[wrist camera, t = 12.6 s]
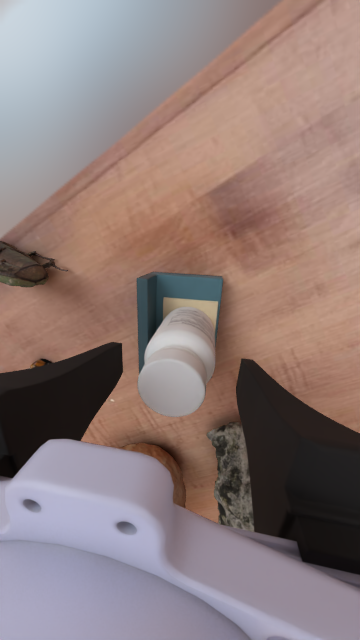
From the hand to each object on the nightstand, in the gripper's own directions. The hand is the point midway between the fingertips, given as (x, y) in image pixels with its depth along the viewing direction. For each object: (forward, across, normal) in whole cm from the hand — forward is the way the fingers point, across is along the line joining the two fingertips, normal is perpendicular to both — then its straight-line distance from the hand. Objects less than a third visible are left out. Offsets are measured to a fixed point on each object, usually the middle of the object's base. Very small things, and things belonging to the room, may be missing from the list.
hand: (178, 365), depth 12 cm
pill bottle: (+6, 0, 0) cm, 6 cm away
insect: (+5, +15, -6) cm, 17 cm away
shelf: (+7, +1, 0) cm, 7 cm away
